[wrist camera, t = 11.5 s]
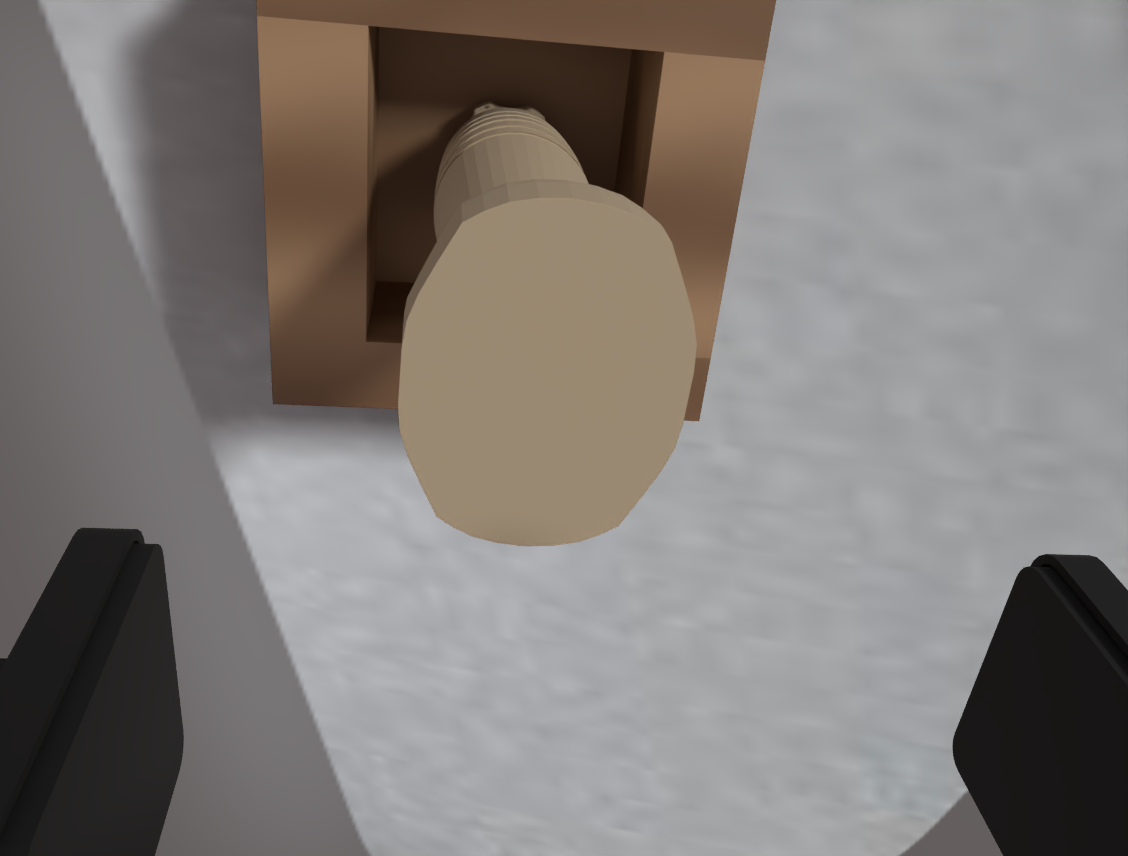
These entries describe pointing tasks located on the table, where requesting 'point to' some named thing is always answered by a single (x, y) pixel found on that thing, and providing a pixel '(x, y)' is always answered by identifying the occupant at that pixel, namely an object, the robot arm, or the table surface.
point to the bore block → (431, 118)
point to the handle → (540, 341)
